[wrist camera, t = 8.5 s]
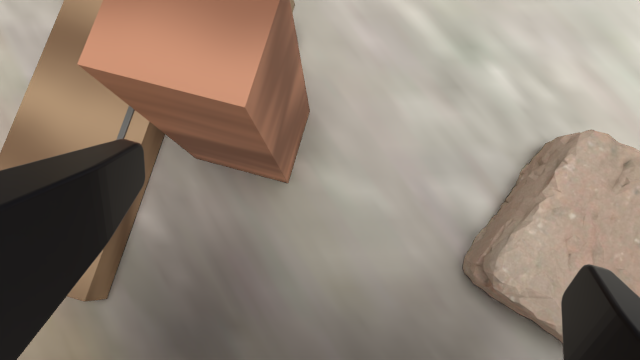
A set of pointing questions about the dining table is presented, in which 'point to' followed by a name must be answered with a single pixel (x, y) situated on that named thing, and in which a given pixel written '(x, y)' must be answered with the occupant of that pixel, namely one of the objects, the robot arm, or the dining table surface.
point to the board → (78, 126)
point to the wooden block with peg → (208, 76)
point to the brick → (561, 226)
